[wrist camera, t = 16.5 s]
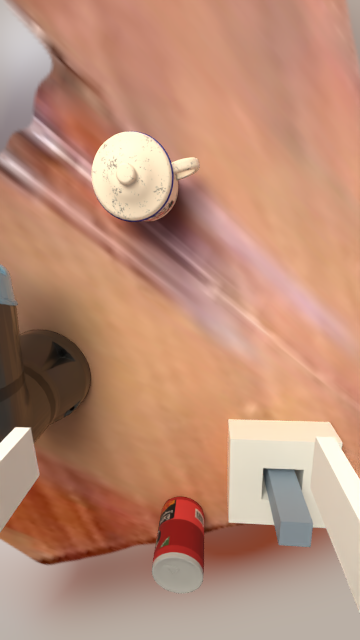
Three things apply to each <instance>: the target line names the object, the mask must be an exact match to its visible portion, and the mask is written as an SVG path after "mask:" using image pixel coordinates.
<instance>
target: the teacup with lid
mask: <svg viewBox="0 0 360 640" xmlns="http://www.w3.org/2000/svg"><path fill="white" fill-rule="evenodd" d="M199 168H200V165H199V161H198V159H197V158H194V157H191V158H185V159H181V160H178V161H175V162H172V163H171V161H170V158H169V156H168V154H167V152H166V151H165V149H164V148H163V147H162V145H161V144H160V143H159V142H157V141H156V140H155V139H154V138H152V137H151V136H149V135H147V134H144V133H141V132H136V131H127V132H122V133H119V134H116V135H114V136H112V137H111V138H109V139H108V140H107V141H105V142H104V143H103V145H102V146H101V147H100V148H99V150H98V152H97V154H96V156H95V158H94V161H93V165H92V184H93V188H94V192H95V194H96V196H97V199H98V200H99V202H100V203H101V205H102V206H103V207H104V208H105V209H106V210H107V211H108V212H109V213H110V214H111V215H113V216H114V217H116V218H118V219H121V220H124V221H129V222H139V221H155V220H158V219H160V218H162V217H163V216H165V215H166V214H167V213H168V212H169V211H170V210H171V209H172V207H173V206H174V204H175V202H176V199H177V195H178V180H180V179H183V178H186V177H188V176H190V175H192V174H194V173H196V172H197V171H198V170H199Z"/></svg>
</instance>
